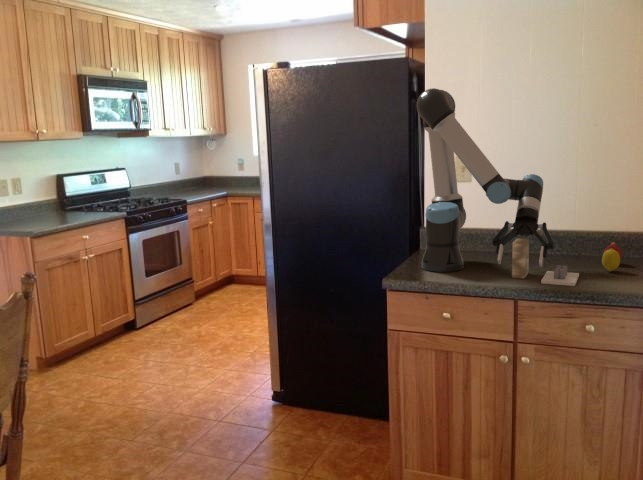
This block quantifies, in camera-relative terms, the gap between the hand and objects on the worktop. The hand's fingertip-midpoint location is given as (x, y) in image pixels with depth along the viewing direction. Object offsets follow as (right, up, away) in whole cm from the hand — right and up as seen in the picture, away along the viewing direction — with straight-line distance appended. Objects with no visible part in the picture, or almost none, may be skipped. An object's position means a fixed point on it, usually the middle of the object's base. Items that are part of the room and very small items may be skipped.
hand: (519, 263), depth 198 cm
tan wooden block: (+1, -4, +3) cm, 5 cm away
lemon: (+32, -3, +3) cm, 32 cm away
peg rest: (+12, -5, -5) cm, 14 cm away
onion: (+38, -1, +14) cm, 40 cm away
